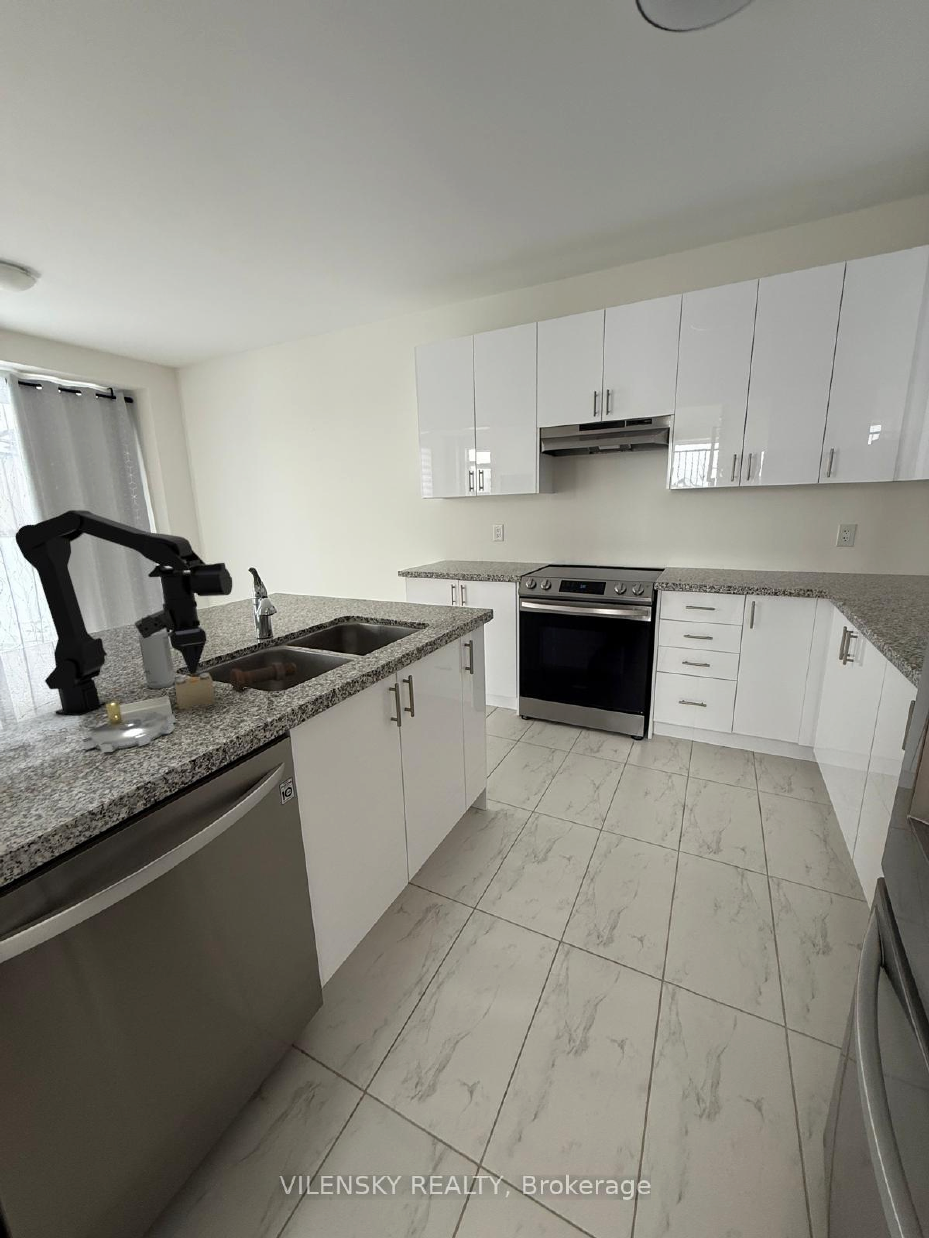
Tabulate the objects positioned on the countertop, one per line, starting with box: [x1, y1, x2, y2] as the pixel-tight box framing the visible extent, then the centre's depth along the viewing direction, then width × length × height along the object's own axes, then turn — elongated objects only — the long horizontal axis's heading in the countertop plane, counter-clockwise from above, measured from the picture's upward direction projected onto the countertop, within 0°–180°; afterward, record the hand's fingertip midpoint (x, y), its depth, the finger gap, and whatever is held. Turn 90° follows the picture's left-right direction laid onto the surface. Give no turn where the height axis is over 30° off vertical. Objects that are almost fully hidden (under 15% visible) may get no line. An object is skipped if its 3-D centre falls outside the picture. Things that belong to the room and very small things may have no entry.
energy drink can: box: [137, 628, 176, 690], centre depth 121 cm, size 6×6×15 cm
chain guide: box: [119, 695, 173, 717], centre depth 104 cm, size 10×6×2 cm, turn 124°
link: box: [173, 672, 216, 711], centre depth 109 cm, size 7×4×6 cm, turn 124°
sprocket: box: [81, 700, 176, 753], centre depth 93 cm, size 15×15×6 cm
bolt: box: [229, 661, 298, 693], centre depth 121 cm, size 6×5×15 cm
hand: (190, 668), depth 108 cm, fingers open, 9 cm apart
